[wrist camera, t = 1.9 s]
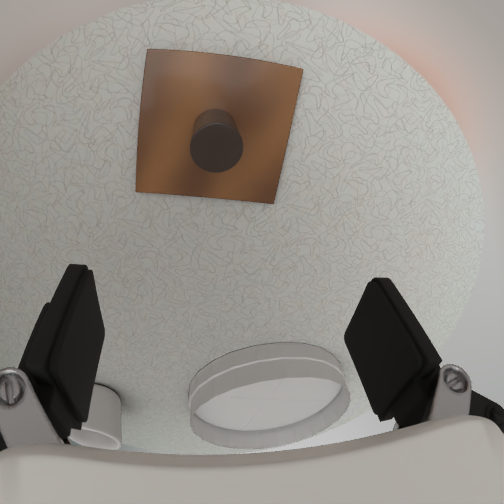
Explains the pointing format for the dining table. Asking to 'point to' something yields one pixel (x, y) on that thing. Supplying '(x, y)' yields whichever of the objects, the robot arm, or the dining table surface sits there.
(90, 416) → the cup
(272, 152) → the square peg stand
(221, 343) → the dining table surface
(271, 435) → the dish
